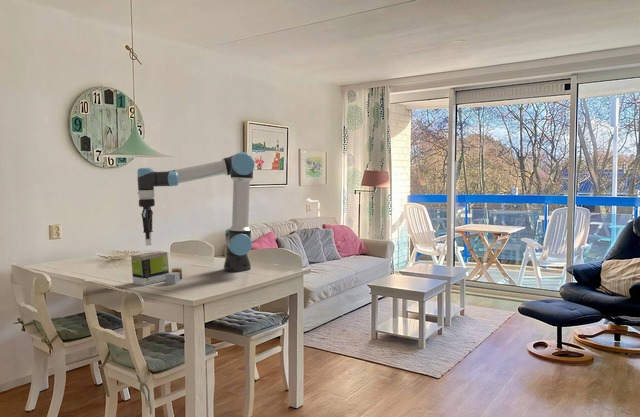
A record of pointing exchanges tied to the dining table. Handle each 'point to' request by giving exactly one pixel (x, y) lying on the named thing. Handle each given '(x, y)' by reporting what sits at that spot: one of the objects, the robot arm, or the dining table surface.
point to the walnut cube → (178, 271)
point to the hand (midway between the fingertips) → (148, 245)
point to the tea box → (149, 267)
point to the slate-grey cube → (172, 278)
